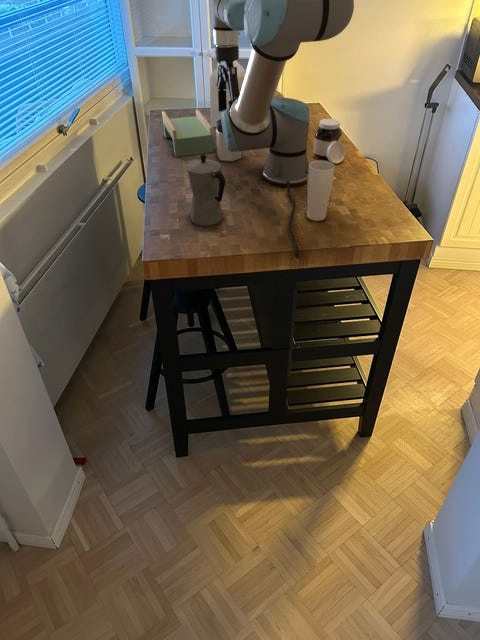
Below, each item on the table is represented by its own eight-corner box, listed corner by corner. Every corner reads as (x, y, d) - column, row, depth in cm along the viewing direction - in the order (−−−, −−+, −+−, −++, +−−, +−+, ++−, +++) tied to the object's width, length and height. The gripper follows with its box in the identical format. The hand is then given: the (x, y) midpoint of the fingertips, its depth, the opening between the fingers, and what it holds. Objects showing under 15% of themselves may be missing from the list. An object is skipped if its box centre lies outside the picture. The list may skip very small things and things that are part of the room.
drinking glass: (311, 225, 129) (317, 172, 119) (299, 214, 134) (303, 162, 124) (333, 220, 131) (340, 167, 121) (320, 209, 136) (326, 158, 126)
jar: (227, 163, 162) (226, 127, 154) (212, 157, 166) (210, 122, 159) (246, 156, 167) (246, 121, 159) (230, 150, 171) (229, 116, 163)
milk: (235, 130, 188) (234, 56, 171) (210, 126, 191) (206, 54, 174) (248, 121, 196) (248, 50, 179) (223, 117, 200) (221, 47, 183)
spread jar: (323, 149, 171) (326, 115, 164) (351, 156, 166) (356, 121, 159) (306, 160, 164) (309, 125, 156) (336, 167, 159) (340, 132, 151)
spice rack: (213, 152, 170) (212, 125, 164) (175, 156, 167) (173, 130, 161) (199, 132, 186) (198, 107, 180) (164, 136, 183) (161, 111, 177)
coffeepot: (179, 214, 134) (173, 152, 123) (206, 204, 139) (202, 143, 127) (211, 236, 125) (208, 170, 114) (239, 224, 130) (238, 160, 118)
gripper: (250, 52, 136) (250, 128, 150) (227, 36, 154) (228, 105, 168) (225, 54, 134) (227, 130, 148) (204, 37, 152) (208, 107, 166)
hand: (228, 117), depth 158 cm, fingers open, 13 cm apart
